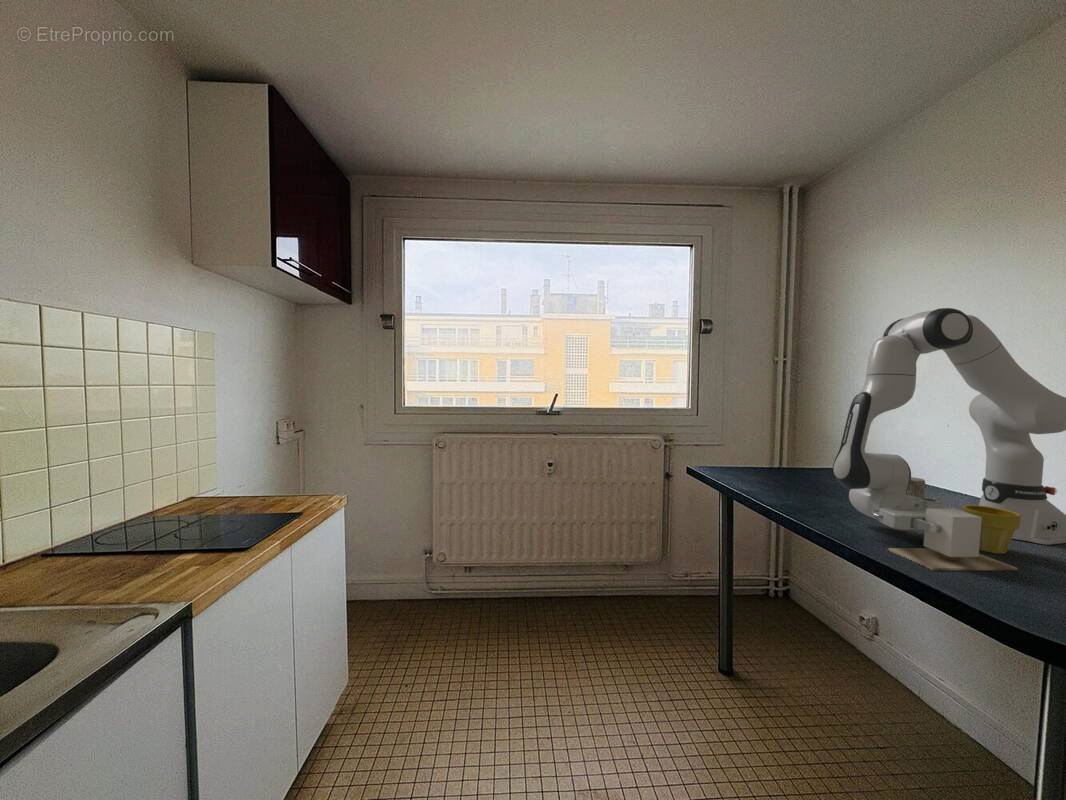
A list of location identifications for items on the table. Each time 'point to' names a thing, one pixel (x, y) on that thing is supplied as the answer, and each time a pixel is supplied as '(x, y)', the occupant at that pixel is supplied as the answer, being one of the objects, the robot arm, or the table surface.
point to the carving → (916, 487)
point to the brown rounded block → (949, 557)
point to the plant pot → (995, 527)
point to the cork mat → (937, 562)
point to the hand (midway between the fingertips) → (955, 529)
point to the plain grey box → (953, 532)
